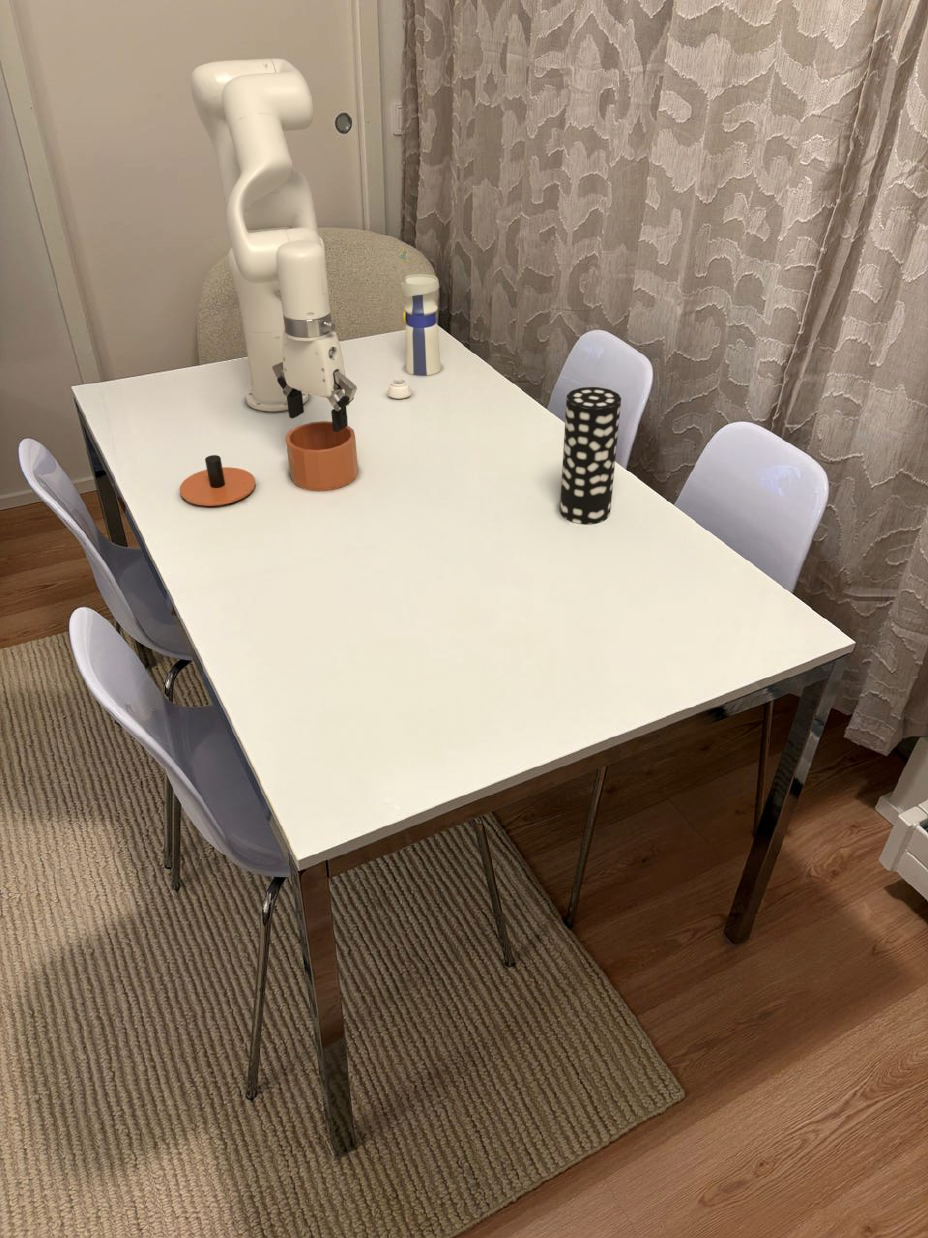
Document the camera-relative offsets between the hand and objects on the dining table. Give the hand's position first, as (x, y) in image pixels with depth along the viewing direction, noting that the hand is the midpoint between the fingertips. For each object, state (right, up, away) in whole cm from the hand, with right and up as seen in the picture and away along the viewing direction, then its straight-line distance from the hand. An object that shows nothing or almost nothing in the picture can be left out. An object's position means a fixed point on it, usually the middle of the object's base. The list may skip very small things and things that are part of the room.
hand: (318, 422), depth 161 cm
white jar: (+12, +12, +33) cm, 37 cm away
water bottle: (+16, +21, +44) cm, 52 cm away
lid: (-18, -11, +1) cm, 21 cm away
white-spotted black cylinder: (+45, -16, -5) cm, 48 cm away
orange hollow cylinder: (0, -8, +6) cm, 10 cm away
